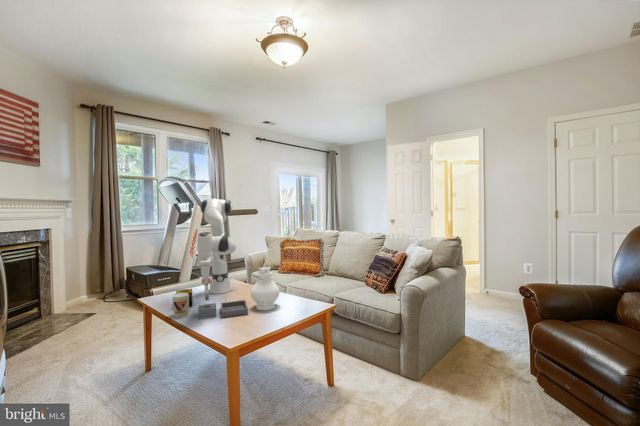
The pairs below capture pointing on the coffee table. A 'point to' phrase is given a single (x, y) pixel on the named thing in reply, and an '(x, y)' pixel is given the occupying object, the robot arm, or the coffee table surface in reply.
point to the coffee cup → (181, 304)
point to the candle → (188, 293)
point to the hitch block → (207, 311)
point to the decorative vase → (265, 290)
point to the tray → (234, 308)
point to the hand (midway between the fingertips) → (206, 282)
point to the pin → (206, 288)
